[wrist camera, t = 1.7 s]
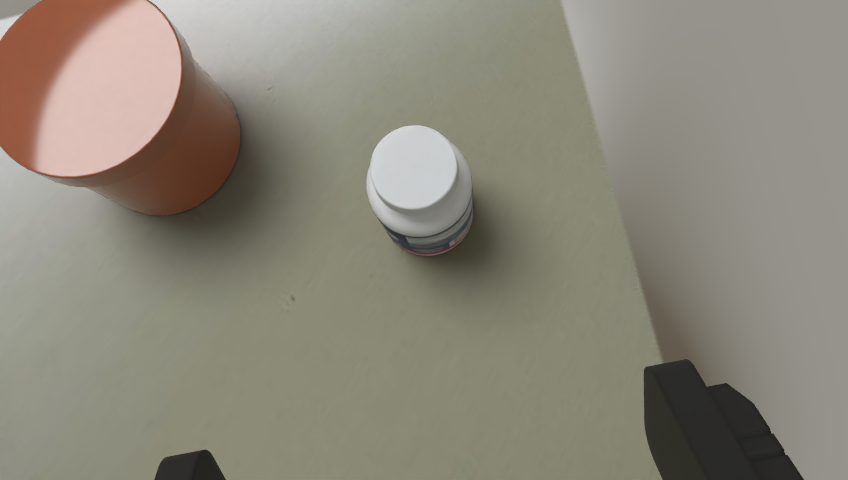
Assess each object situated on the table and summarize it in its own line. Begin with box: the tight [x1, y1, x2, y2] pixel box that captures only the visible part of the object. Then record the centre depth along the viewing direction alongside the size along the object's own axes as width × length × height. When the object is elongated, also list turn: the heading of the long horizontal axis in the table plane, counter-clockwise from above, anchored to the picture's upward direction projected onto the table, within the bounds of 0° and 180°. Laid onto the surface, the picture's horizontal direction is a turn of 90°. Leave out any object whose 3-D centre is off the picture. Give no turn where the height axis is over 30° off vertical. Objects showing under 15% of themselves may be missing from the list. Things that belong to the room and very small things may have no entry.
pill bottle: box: [366, 125, 474, 256], centre depth 34 cm, size 5×5×9 cm
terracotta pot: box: [0, 0, 241, 215], centre depth 36 cm, size 10×10×9 cm
